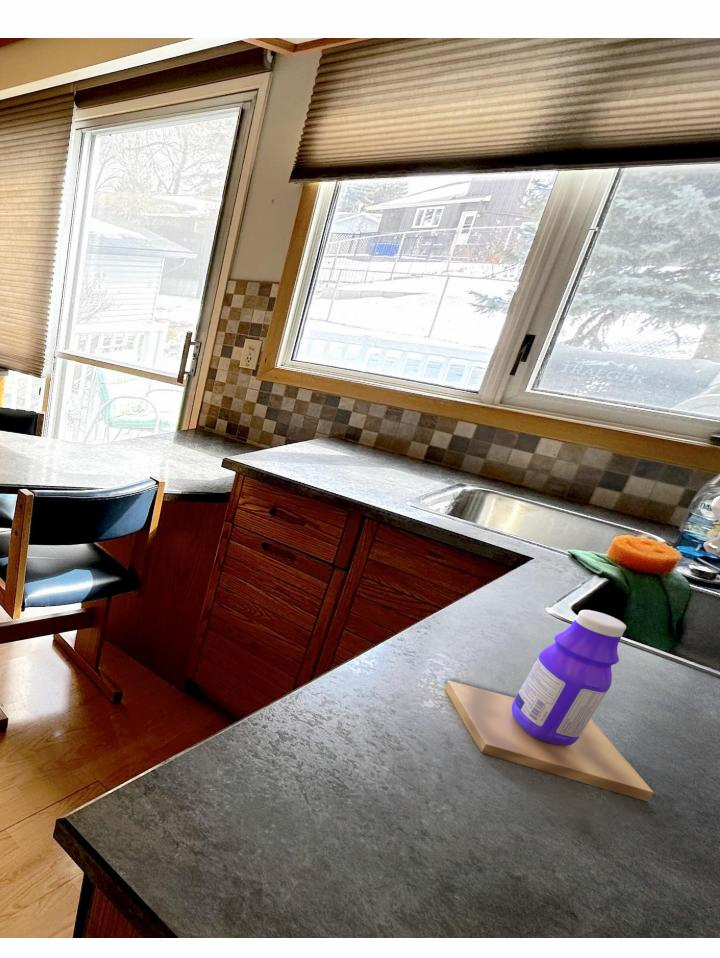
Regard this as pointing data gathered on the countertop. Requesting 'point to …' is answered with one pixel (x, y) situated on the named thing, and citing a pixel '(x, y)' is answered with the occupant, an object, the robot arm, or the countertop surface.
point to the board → (544, 744)
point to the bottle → (569, 679)
